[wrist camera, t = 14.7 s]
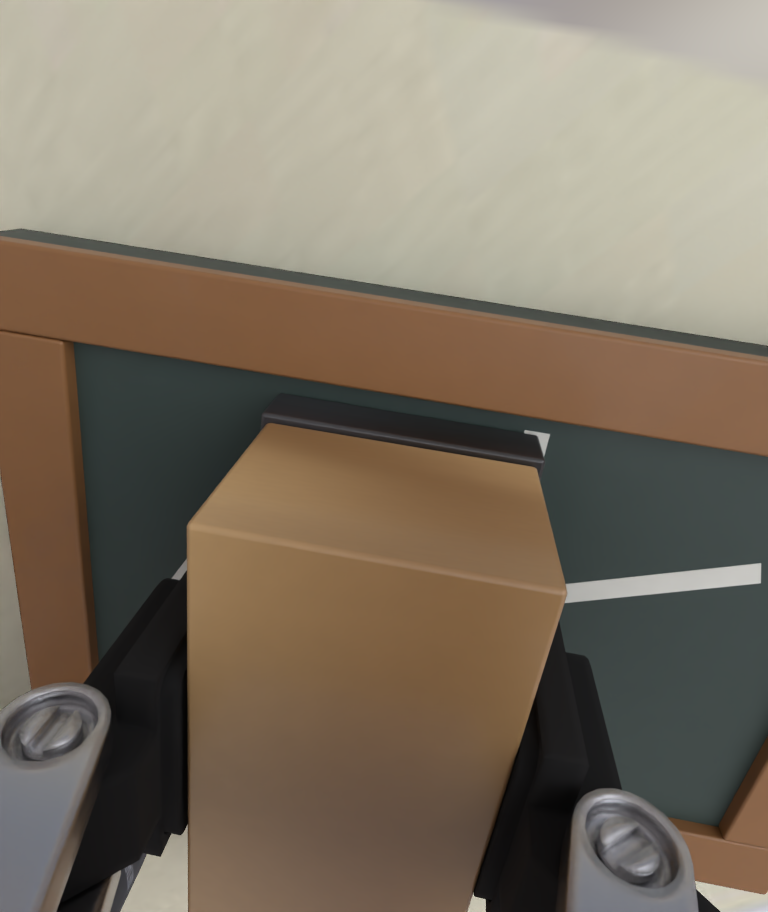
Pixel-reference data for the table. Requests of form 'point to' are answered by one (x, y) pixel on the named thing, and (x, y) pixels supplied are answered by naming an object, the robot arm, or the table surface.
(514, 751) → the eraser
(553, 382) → the board
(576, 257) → the table surface
